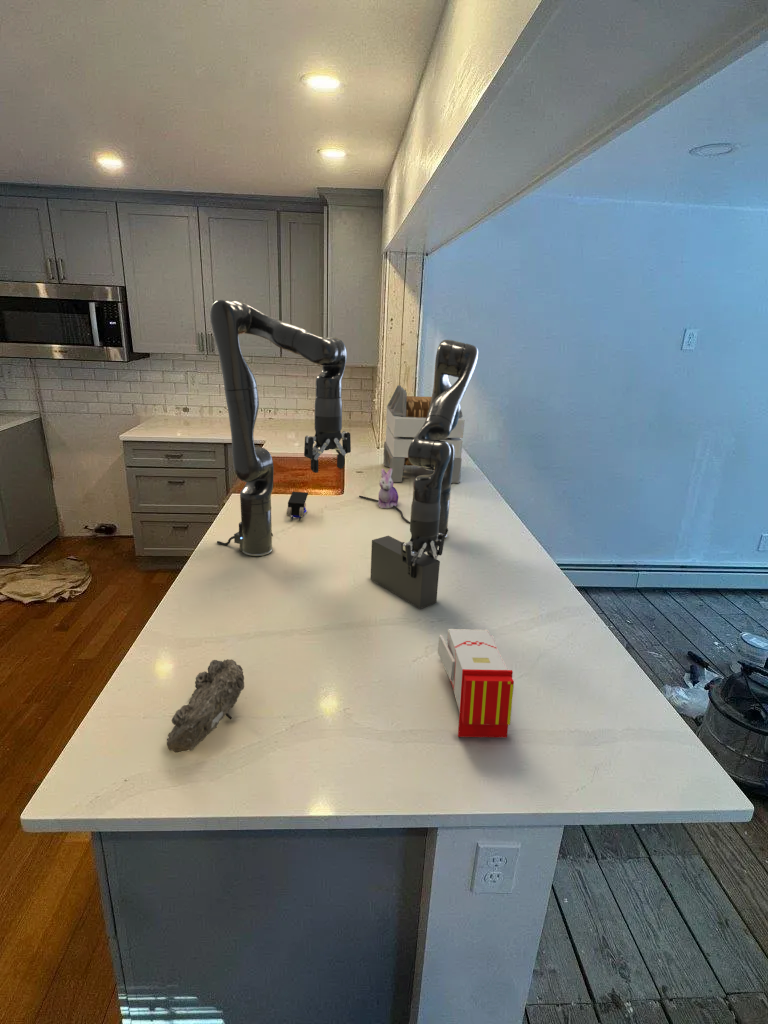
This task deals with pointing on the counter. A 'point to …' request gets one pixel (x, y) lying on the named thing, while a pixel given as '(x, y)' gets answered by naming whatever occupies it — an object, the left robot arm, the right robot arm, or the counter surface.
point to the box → (404, 573)
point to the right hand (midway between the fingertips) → (421, 573)
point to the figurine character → (297, 505)
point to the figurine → (387, 491)
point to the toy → (478, 682)
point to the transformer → (413, 432)
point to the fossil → (206, 705)
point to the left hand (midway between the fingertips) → (327, 470)
